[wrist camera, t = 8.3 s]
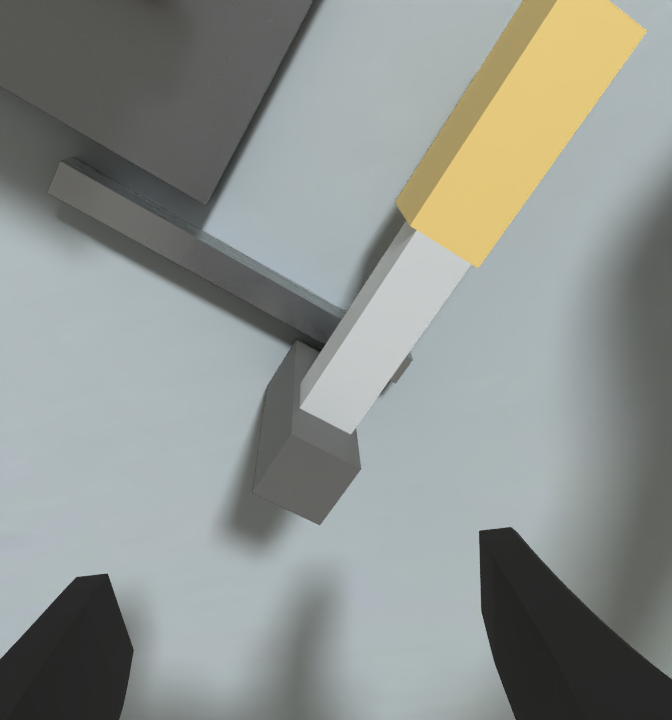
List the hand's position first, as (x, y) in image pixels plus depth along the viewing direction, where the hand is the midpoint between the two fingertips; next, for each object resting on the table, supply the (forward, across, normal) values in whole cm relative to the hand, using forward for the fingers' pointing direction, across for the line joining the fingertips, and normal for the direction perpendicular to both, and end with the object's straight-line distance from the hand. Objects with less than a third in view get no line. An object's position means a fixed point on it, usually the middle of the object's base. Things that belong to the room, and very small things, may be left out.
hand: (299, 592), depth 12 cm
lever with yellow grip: (+10, -4, -4) cm, 11 cm away
